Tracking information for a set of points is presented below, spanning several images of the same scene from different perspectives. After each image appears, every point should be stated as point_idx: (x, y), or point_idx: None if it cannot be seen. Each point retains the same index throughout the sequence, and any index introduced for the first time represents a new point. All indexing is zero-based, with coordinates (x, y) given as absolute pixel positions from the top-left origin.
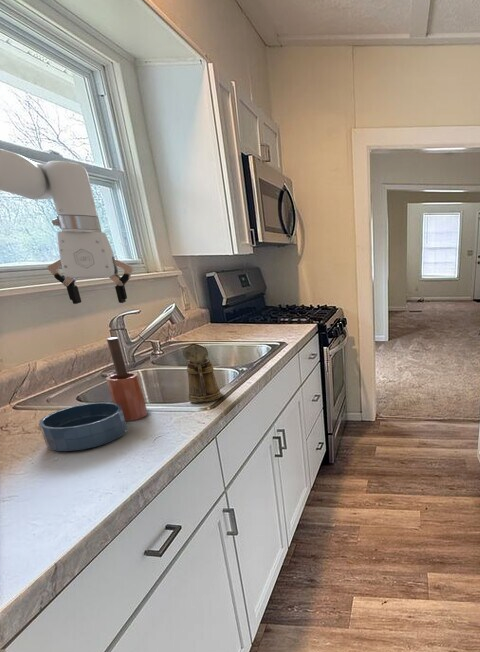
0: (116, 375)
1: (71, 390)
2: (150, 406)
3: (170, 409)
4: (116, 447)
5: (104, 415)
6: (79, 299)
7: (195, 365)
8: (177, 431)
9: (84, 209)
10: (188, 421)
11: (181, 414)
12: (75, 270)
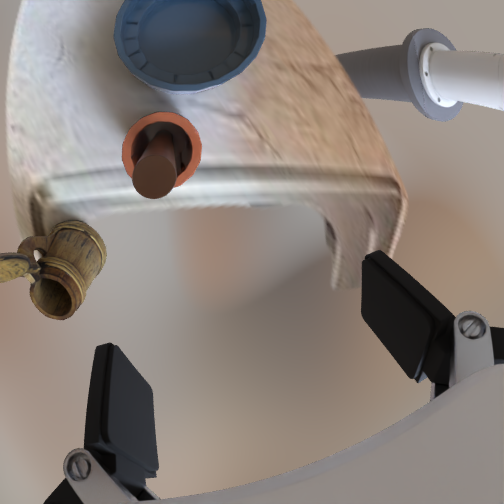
0: (188, 164)
1: (358, 264)
2: None
3: (106, 182)
4: (115, 10)
5: (180, 75)
6: (370, 312)
7: (32, 262)
8: (39, 84)
9: None
10: (40, 129)
11: (69, 159)
12: (475, 464)
